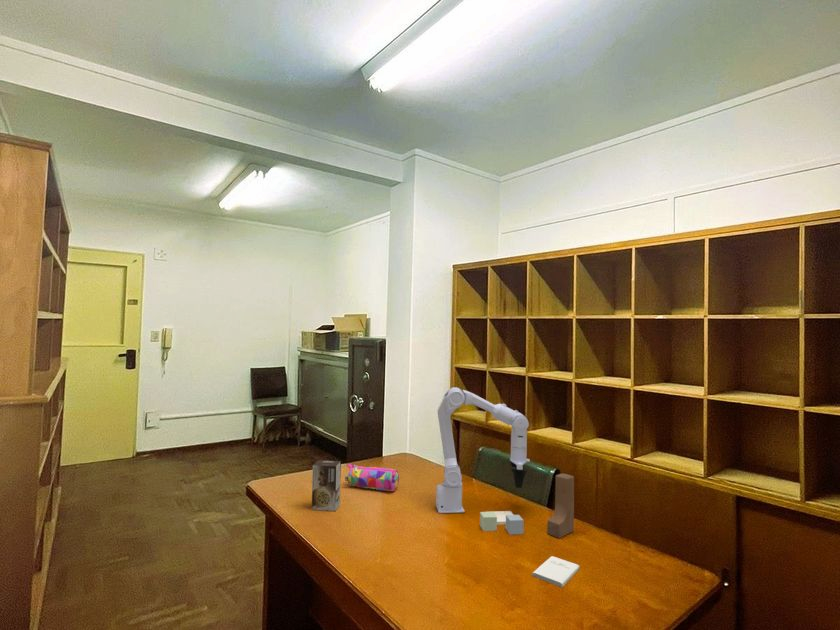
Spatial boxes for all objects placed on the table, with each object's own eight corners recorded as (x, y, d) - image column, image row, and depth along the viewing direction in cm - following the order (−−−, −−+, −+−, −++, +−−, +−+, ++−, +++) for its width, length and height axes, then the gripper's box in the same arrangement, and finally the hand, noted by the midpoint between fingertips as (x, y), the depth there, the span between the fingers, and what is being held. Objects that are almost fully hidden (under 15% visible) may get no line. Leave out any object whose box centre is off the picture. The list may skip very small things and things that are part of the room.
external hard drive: (532, 578, 119) (551, 560, 129) (562, 589, 114) (579, 570, 124) (532, 572, 119) (551, 555, 129) (562, 583, 114) (579, 564, 124)
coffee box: (340, 505, 166) (341, 460, 167) (335, 511, 160) (337, 465, 161) (316, 503, 167) (318, 459, 168) (310, 510, 161) (312, 464, 161)
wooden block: (559, 538, 142) (559, 481, 143) (546, 533, 146) (547, 477, 146) (574, 531, 148) (574, 476, 149) (562, 526, 151) (562, 472, 152)
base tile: (493, 526, 152) (493, 521, 152) (486, 515, 161) (486, 511, 161) (518, 525, 153) (519, 521, 153) (510, 515, 162) (510, 511, 162)
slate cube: (509, 534, 145) (510, 520, 145) (505, 528, 149) (505, 515, 149) (523, 534, 145) (523, 520, 145) (518, 528, 150) (518, 514, 150)
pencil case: (343, 489, 184) (343, 466, 184) (352, 482, 193) (353, 460, 193) (392, 495, 178) (393, 472, 178) (400, 488, 187) (401, 466, 187)
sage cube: (483, 531, 147) (483, 517, 147) (479, 525, 151) (480, 512, 151) (496, 531, 147) (496, 517, 147) (492, 525, 152) (493, 511, 152)
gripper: (531, 452, 158) (531, 491, 157) (528, 442, 172) (527, 478, 171) (511, 450, 159) (510, 489, 158) (509, 441, 173) (508, 477, 172)
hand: (518, 484), depth 165 cm, fingers open, 7 cm apart
